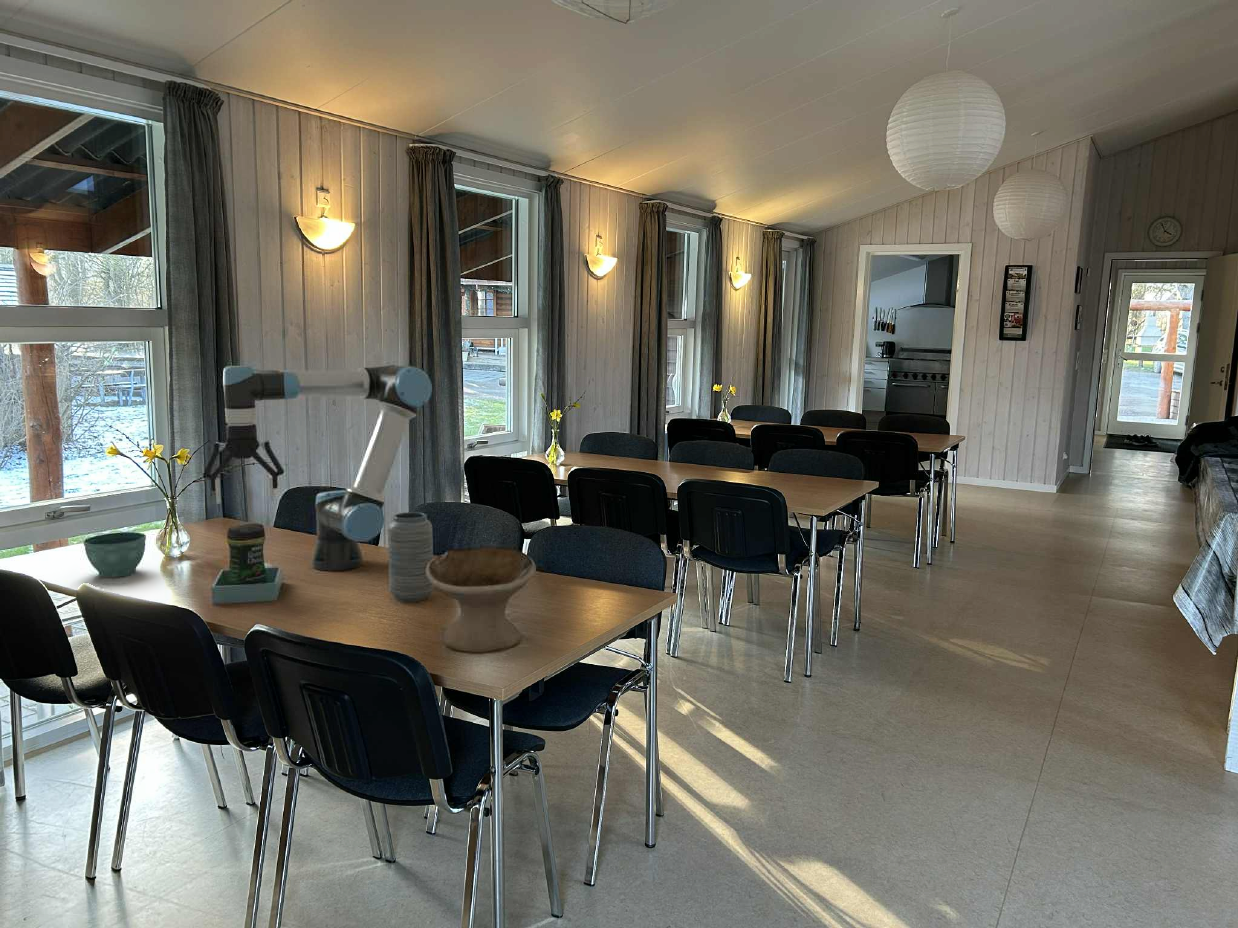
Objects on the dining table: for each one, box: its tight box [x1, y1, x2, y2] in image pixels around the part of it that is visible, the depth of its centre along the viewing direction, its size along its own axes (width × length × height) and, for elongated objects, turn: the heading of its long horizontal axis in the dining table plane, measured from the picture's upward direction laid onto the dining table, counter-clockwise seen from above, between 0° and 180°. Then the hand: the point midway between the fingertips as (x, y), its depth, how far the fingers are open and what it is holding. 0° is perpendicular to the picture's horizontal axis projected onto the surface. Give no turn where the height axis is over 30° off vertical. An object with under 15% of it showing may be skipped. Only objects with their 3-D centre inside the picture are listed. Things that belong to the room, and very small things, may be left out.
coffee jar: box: [226, 522, 267, 586], centre depth 255 cm, size 10×8×19 cm
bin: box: [211, 566, 283, 605], centre depth 256 cm, size 16×18×5 cm
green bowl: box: [82, 531, 147, 579], centre depth 273 cm, size 16×16×11 cm
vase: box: [387, 511, 434, 604], centre depth 252 cm, size 12×12×23 cm
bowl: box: [426, 546, 537, 654], centre depth 219 cm, size 26×25×20 cm
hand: (245, 501), depth 253 cm, fingers open, 13 cm apart
